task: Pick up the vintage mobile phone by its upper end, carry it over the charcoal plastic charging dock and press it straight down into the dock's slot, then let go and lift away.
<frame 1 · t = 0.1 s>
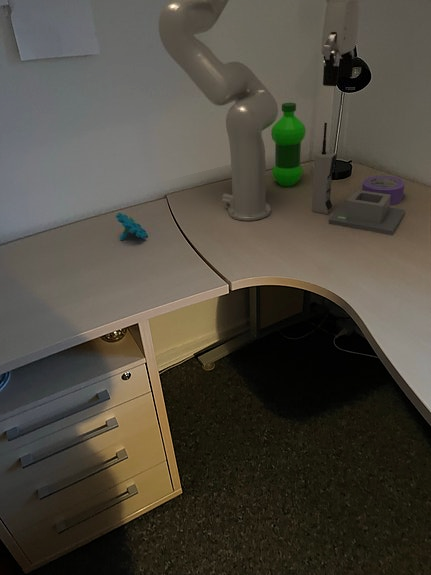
hand: (337, 81, 106), 37 cm above the table, tool pointing down, fingers open, 9 cm apart
vintage mobile phone: (321, 211, 135), on the table
tape roll: (381, 198, 140), on the table
plastic bottle: (287, 183, 155), on the table
teal bumpy irregular piece: (133, 237, 129), on the table
charging dock: (366, 218, 129), on the table
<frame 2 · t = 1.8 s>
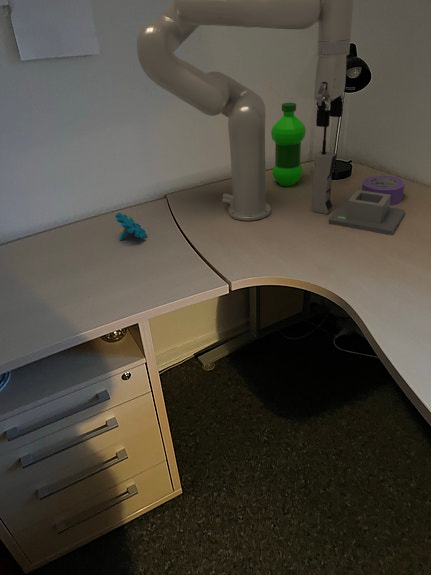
hand: (329, 121, 121), 25 cm above the table, tool pointing down, fingers open, 9 cm apart
nothing on the table moved.
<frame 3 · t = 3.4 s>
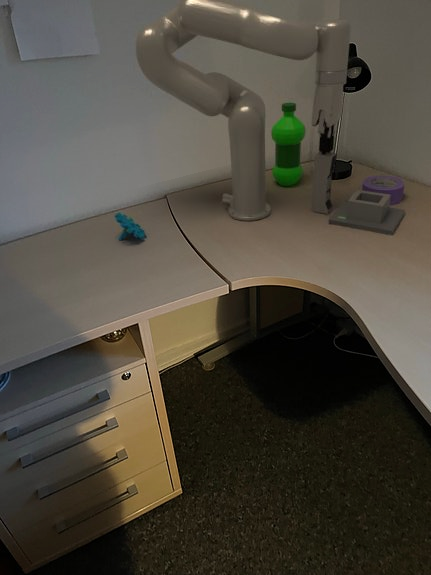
hand: (325, 150, 125), 18 cm above the table, tool pointing down, fingers closed on vintage mobile phone
vintage mobile phone: (321, 211, 135), on the table, touching gripper
everything else where it was.
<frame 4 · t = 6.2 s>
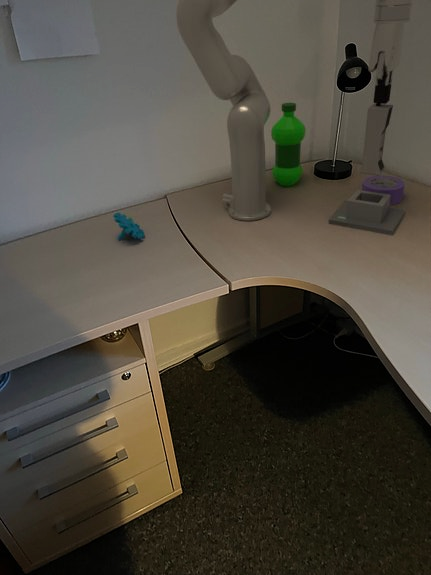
hand: (381, 102, 112), 31 cm above the table, tool pointing down, fingers closed on vintage mobile phone
vintage mobile phone: (372, 173, 122), point 13 cm above the table, touching gripper
everything else where it was.
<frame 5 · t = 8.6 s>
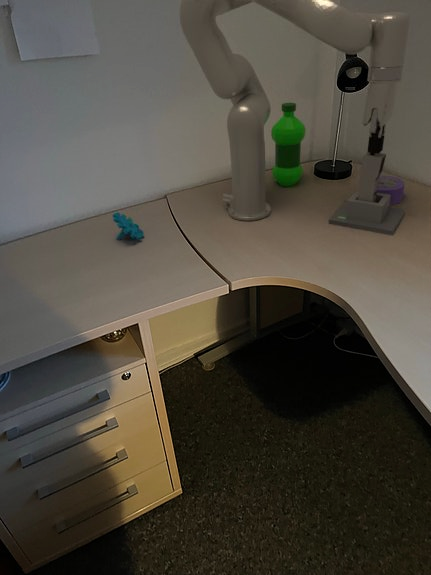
hand: (374, 151, 119), 19 cm above the table, tool pointing down, fingers closed on vintage mobile phone
vintage mobile phone: (366, 215, 129), point 1 cm above the table, touching charging dock, gripper
everything else where it was.
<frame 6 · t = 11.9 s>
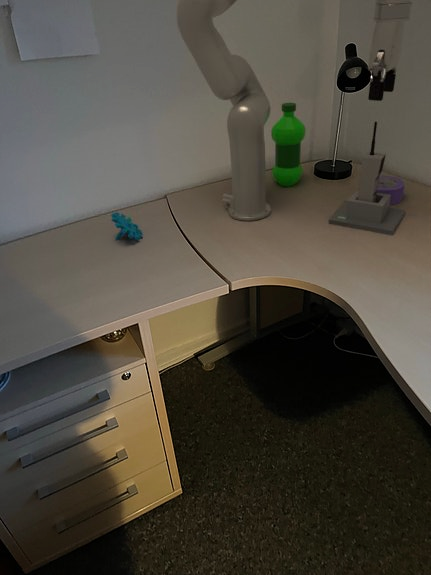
hand: (380, 95, 111), 32 cm above the table, tool pointing down, fingers open, 9 cm apart
vintage mobile phone: (366, 215, 129), point 1 cm above the table, touching charging dock
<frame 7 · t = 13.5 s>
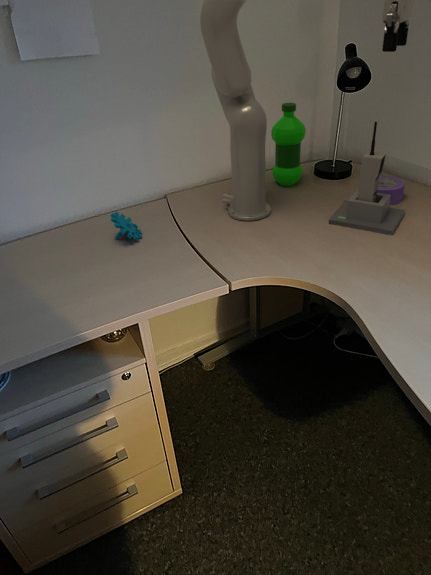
hand: (394, 48, 117), 40 cm above the table, tool pointing down, fingers open, 9 cm apart
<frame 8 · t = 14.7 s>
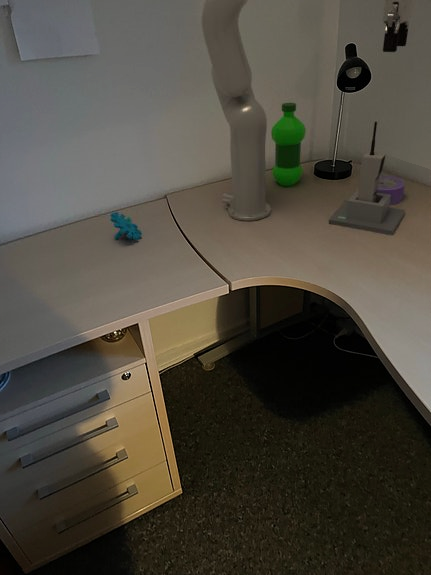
hand: (394, 48, 118), 40 cm above the table, tool pointing down, fingers open, 9 cm apart
at the end: vintage mobile phone 0.2 cm off-centre on the charging dock, point 1.0 cm above the charging dock's base; vintage mobile phone tilted 0°; the gripper is holding nothing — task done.
